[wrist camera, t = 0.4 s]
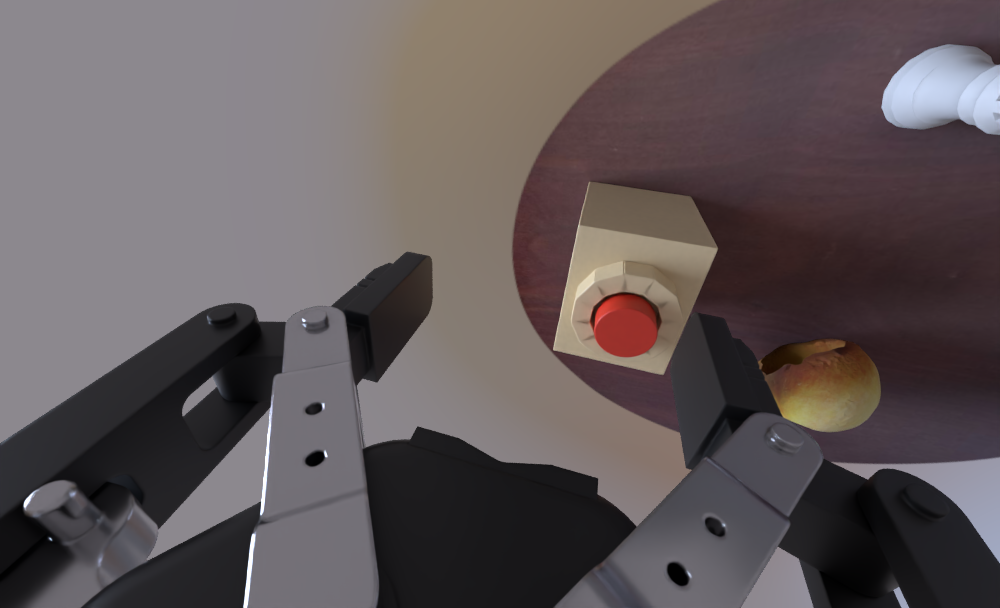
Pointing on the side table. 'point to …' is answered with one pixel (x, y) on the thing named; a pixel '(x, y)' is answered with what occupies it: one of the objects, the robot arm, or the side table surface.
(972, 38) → the side table surface
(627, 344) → the red push button
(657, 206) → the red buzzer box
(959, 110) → the rook chess piece
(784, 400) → the fruit
